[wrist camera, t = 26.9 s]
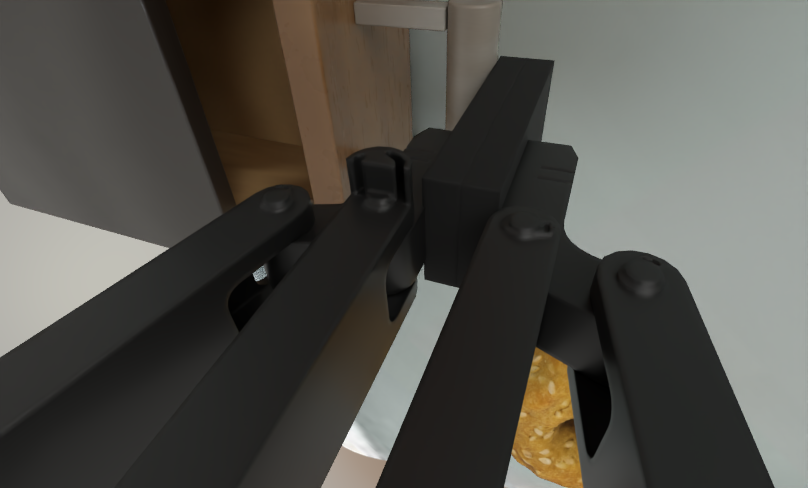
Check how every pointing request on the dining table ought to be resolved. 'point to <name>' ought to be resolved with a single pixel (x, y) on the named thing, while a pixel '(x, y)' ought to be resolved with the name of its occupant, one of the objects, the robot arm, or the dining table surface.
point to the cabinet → (105, 119)
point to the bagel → (548, 424)
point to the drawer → (321, 80)
